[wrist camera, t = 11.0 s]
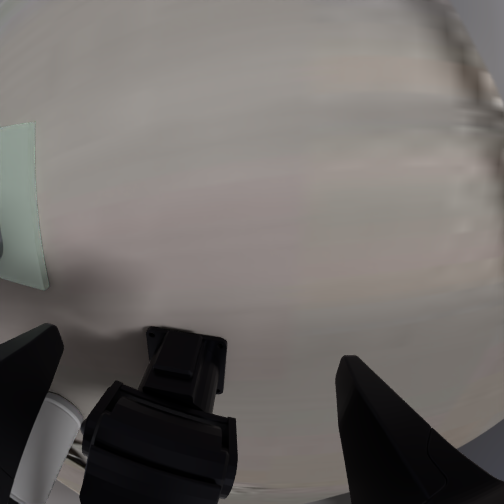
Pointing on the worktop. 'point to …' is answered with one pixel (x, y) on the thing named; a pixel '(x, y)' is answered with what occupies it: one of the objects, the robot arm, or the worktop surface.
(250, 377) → the worktop surface
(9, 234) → the sage board
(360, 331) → the worktop surface
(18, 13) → the worktop surface
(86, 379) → the worktop surface
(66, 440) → the travel mug
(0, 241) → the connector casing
